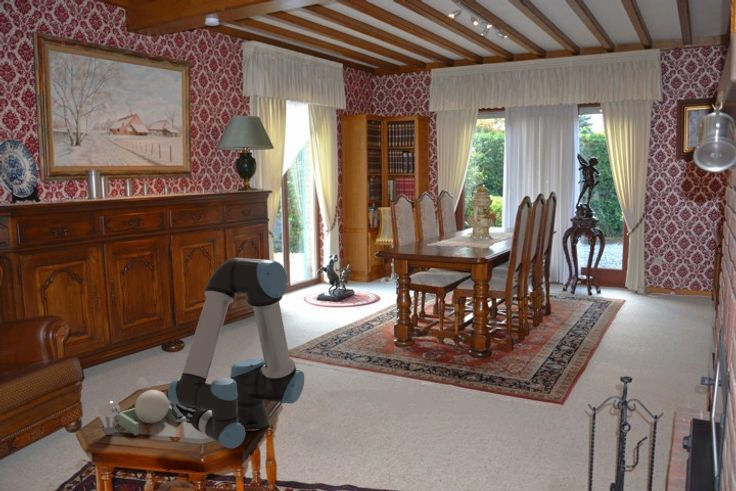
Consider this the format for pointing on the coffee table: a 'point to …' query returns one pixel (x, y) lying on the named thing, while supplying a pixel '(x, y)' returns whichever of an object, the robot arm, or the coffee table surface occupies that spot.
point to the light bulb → (109, 415)
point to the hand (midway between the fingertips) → (170, 400)
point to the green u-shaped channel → (129, 416)
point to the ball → (151, 406)
